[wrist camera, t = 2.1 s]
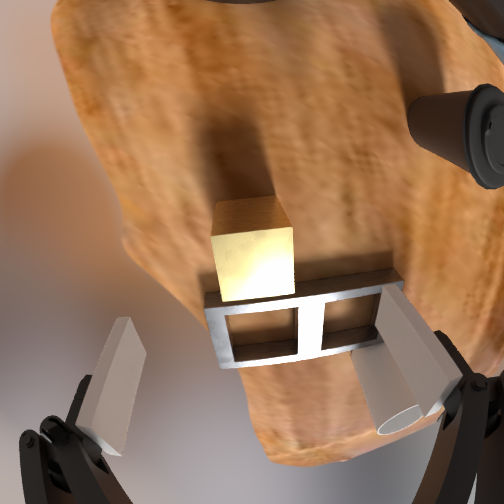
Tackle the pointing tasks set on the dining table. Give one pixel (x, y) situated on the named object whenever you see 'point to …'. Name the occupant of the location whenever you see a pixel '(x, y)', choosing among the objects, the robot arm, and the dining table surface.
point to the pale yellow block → (253, 248)
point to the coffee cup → (464, 130)
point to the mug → (385, 389)
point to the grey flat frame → (298, 320)
